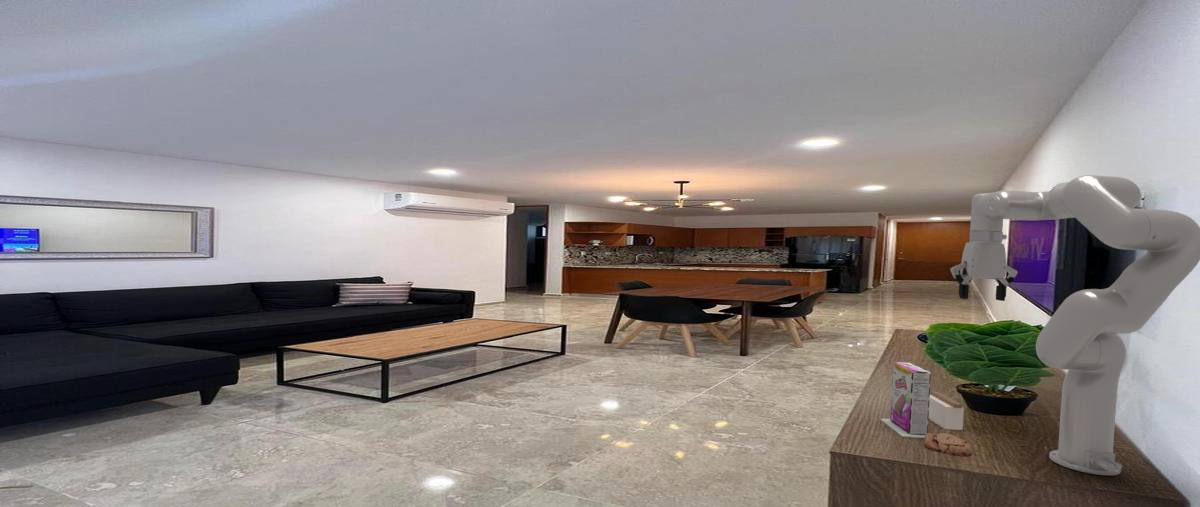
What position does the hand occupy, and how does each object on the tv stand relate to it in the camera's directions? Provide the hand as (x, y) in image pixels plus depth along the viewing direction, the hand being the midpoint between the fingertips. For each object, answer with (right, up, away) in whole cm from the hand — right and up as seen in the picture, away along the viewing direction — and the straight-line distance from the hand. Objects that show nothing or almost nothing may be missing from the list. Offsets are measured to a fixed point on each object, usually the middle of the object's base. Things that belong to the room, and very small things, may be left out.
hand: (981, 299), depth 163 cm
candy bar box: (-25, -34, -8) cm, 43 cm away
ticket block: (-12, -34, -1) cm, 36 cm away
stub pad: (-25, -34, -8) cm, 43 cm away
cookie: (-22, -35, -21) cm, 46 cm away
